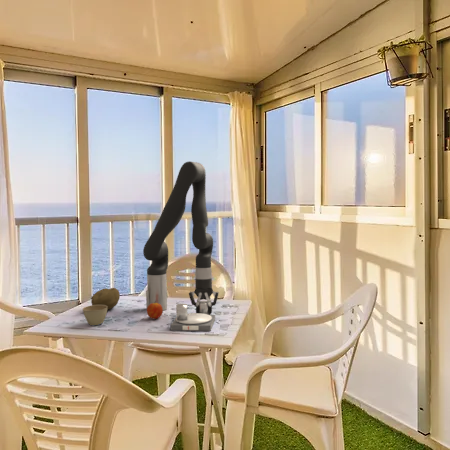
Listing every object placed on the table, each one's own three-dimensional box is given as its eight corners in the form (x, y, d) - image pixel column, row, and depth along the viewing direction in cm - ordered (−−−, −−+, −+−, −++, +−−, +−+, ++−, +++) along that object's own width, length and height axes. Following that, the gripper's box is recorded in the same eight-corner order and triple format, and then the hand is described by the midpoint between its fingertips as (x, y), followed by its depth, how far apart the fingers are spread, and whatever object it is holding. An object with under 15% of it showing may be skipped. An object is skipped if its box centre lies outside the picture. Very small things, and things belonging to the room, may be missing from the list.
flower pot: (82, 322, 177) (81, 306, 177) (106, 319, 181) (105, 303, 181) (84, 328, 168) (83, 311, 168) (109, 325, 172) (109, 308, 171)
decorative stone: (106, 315, 189) (105, 293, 189) (85, 313, 192) (84, 292, 192) (125, 306, 205) (124, 286, 205) (105, 305, 208) (104, 285, 208)
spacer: (198, 316, 185) (198, 303, 185) (199, 313, 190) (199, 300, 189) (208, 316, 185) (208, 303, 185) (209, 313, 189) (209, 300, 189)
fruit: (149, 321, 178) (148, 303, 177) (145, 317, 184) (144, 300, 184) (164, 319, 181) (164, 301, 180) (160, 315, 187) (160, 298, 187)
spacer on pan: (175, 320, 167) (175, 306, 167) (177, 317, 172) (177, 303, 172) (186, 320, 167) (186, 306, 167) (188, 317, 171) (188, 303, 171)
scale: (170, 330, 164) (170, 323, 164) (178, 319, 180) (178, 312, 180) (210, 331, 162) (210, 324, 162) (215, 319, 179) (215, 313, 179)
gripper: (186, 278, 183) (187, 316, 184) (218, 278, 182) (218, 316, 183) (189, 275, 191) (190, 312, 192) (220, 275, 190) (220, 312, 190)
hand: (204, 314), depth 187 cm, fingers closed on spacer, 4 cm apart
